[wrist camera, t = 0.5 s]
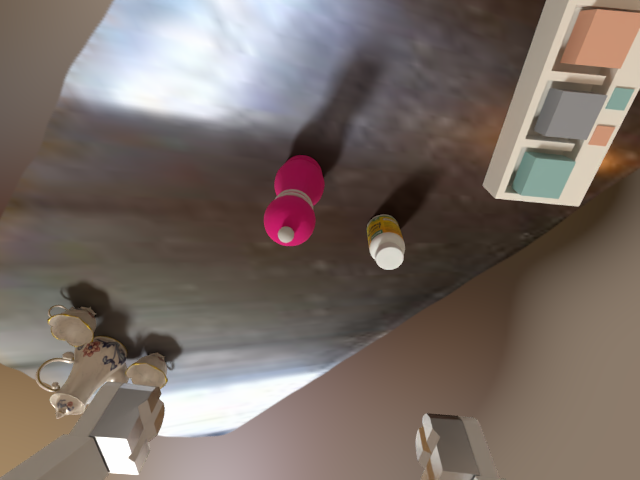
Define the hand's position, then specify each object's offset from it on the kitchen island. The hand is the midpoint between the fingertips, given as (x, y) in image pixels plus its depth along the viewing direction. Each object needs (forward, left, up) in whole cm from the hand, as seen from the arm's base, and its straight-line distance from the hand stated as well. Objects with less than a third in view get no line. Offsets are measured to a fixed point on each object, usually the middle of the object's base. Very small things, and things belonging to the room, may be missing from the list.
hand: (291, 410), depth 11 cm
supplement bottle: (+17, +11, -45) cm, 49 cm away
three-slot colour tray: (-4, +31, -45) cm, 55 cm away
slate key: (-4, +30, -41) cm, 51 cm away
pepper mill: (+9, -3, -45) cm, 46 cm away
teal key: (+4, +30, -41) cm, 51 cm away
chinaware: (+52, -42, -45) cm, 81 cm away
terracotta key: (-12, +30, -41) cm, 52 cm away
